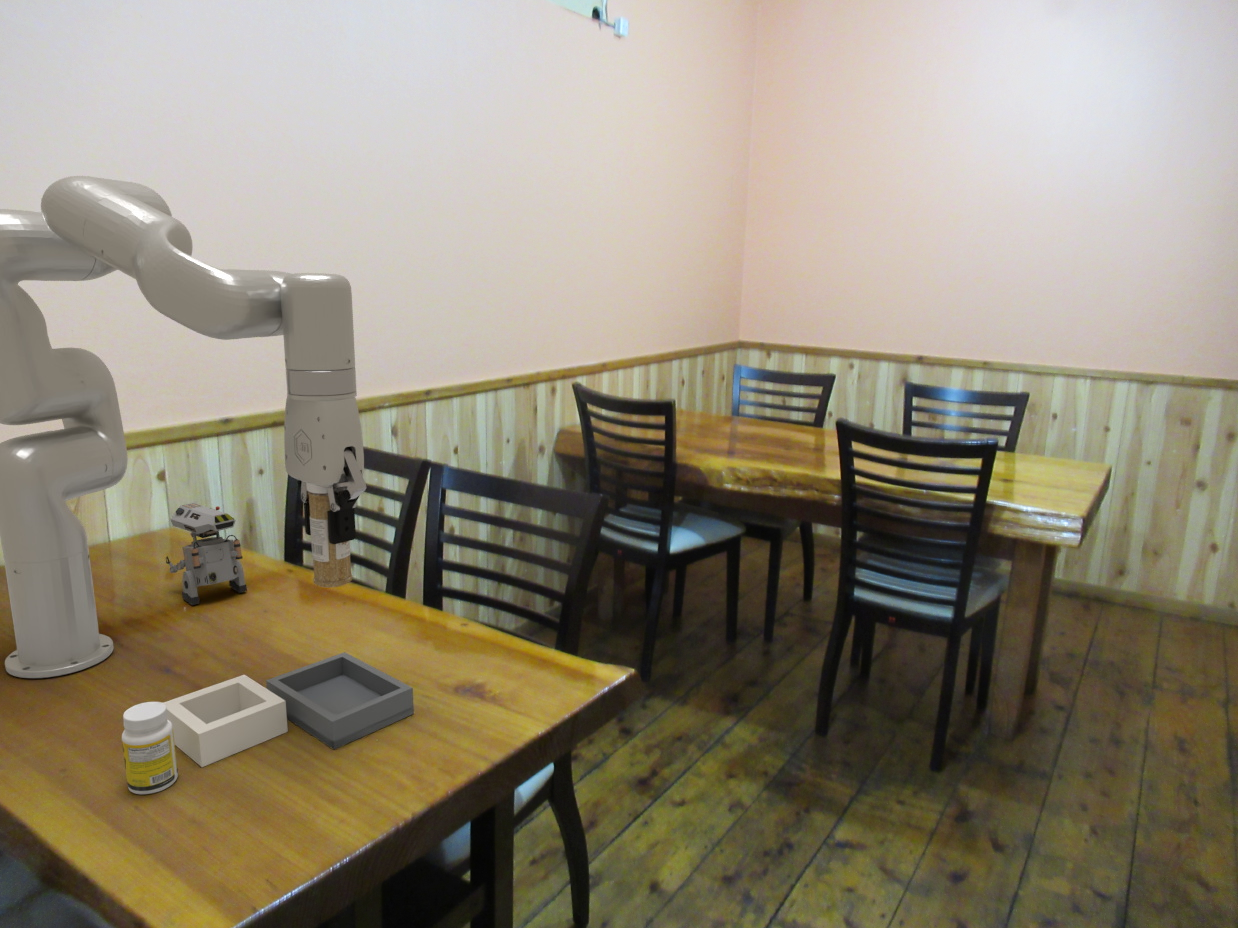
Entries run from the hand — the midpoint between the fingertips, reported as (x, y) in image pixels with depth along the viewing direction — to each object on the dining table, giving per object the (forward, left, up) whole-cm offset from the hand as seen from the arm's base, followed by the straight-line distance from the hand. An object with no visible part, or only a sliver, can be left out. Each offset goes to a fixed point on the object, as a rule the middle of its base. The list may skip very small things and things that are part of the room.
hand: (330, 535), depth 100 cm
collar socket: (-5, -12, -23) cm, 26 cm away
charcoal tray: (0, 0, -23) cm, 23 cm away
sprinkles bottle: (0, 0, -6) cm, 6 cm away
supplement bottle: (-1, -22, -23) cm, 32 cm away
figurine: (-51, +7, -23) cm, 56 cm away
